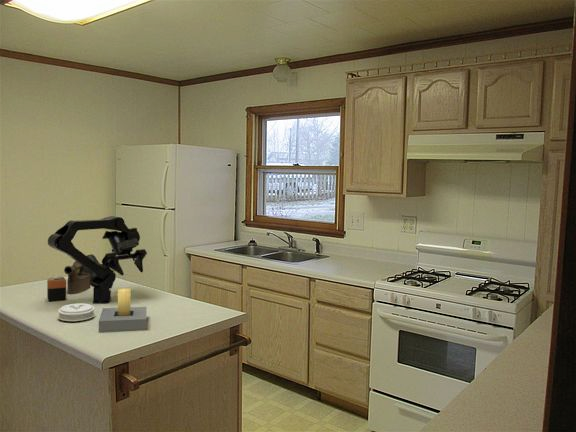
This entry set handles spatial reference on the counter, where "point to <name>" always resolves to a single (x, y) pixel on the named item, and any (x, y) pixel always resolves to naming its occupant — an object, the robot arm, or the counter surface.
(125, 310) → the plug
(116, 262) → the robot arm
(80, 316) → the lid
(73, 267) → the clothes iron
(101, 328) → the socket block
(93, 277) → the squash
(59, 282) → the battery
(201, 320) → the counter surface
